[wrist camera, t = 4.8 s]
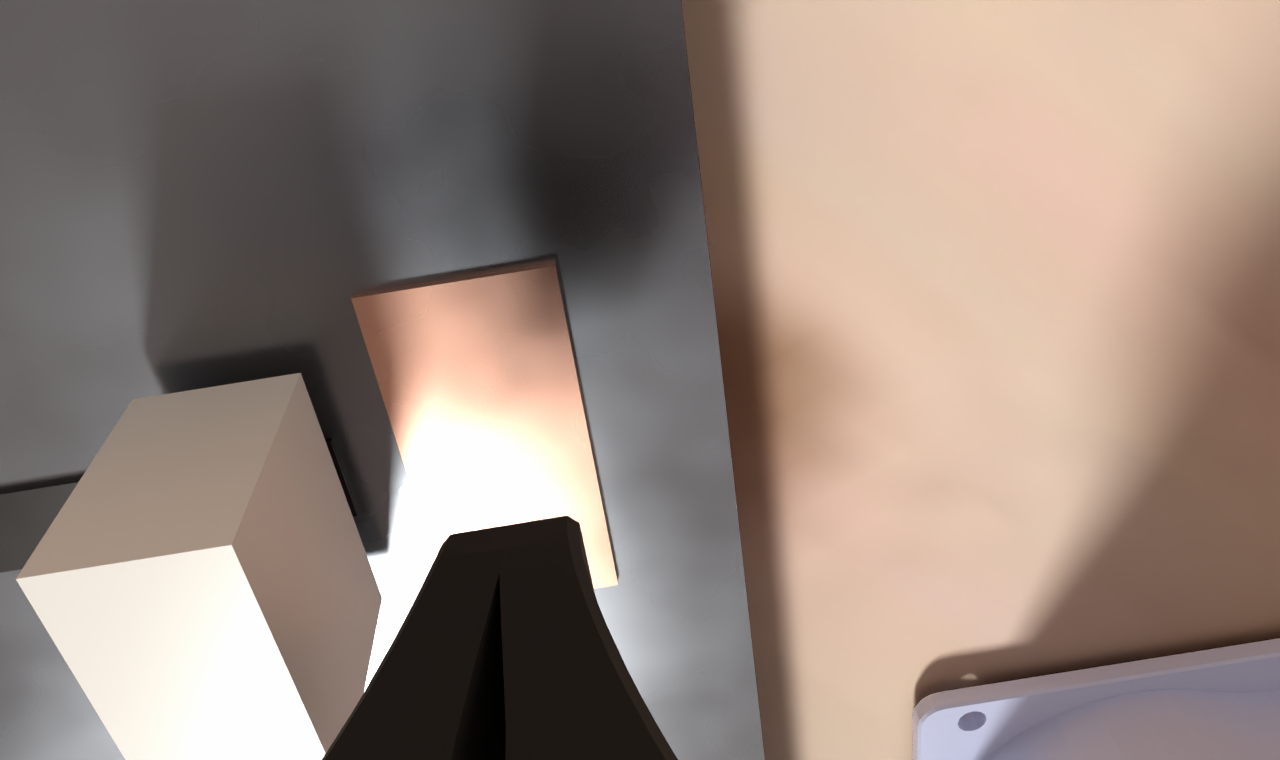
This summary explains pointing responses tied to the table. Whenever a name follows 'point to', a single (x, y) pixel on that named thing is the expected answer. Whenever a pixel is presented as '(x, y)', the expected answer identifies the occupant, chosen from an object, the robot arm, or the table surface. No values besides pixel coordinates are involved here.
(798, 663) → the table surface
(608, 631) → the robot arm
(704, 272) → the breaker panel
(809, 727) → the table surface
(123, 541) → the beige rectangular block
